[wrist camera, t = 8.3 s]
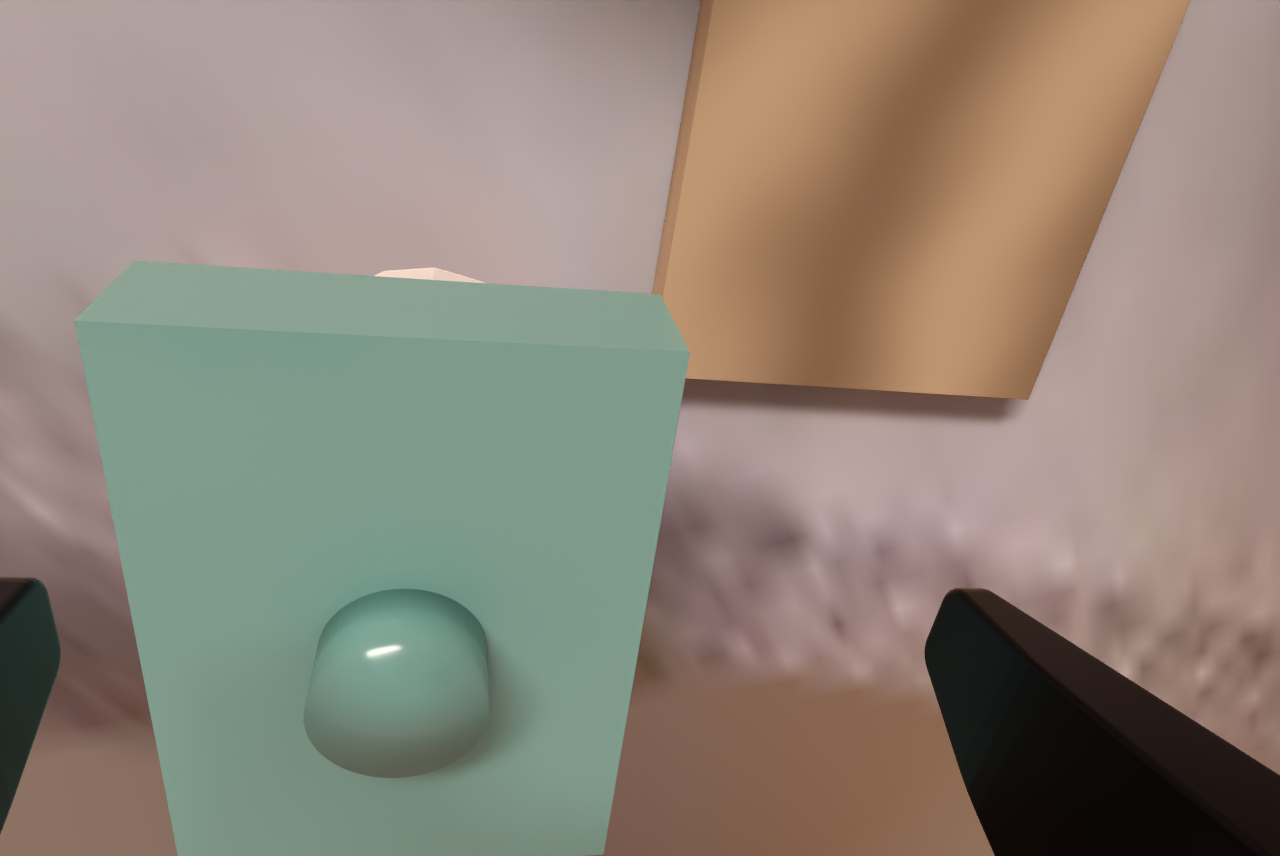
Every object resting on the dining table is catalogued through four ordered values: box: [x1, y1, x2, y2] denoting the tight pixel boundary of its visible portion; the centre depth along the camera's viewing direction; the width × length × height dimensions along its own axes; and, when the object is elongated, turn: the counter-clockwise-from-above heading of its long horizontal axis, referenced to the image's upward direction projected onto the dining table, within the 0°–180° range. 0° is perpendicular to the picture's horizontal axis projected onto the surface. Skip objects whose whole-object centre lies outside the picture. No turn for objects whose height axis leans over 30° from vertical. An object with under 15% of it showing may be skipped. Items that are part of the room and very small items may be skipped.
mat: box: [652, 0, 1191, 400], centre depth 19 cm, size 10×10×1 cm
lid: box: [75, 261, 690, 856], centre depth 13 cm, size 7×10×3 cm
